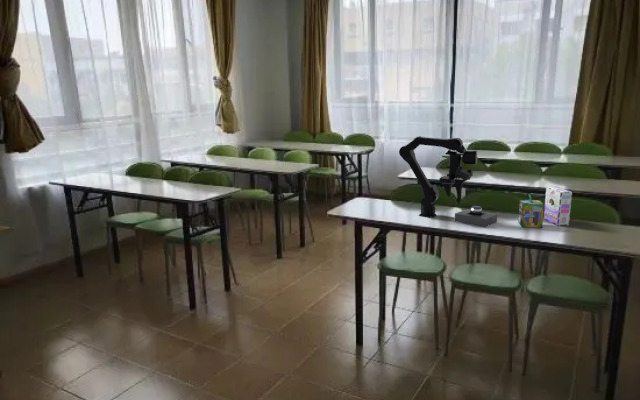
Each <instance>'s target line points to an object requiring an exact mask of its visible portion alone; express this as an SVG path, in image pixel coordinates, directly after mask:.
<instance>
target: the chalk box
mask: <svg viewBox="0 0 640 400" xmlns="http://www.w3.org/2000/svg"><path fill="white" fill-rule="evenodd" d="M528 198H529V199H520V200H519V205H518V208H519V209H518V219H517V220H518V222H517V223H518V224H519V226H520V227H521V228H524V229H525V228H526V229H527V228H529V229H530V228H535V229H539V228H540V229H542V228H543V222H544V208H545V203H543V202H542V201H540V200H537V199H536V200H534V199H533V198H532V196H531V194H530V193H528Z"/></svg>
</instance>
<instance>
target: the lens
mask: <svg viewBox="0 0 640 400" xmlns="http://www.w3.org/2000/svg"><path fill="white" fill-rule="evenodd" d="M469 210H470V215H474V216H481V215H482V212H483V208H482V206H479V205H472V206H471V207H470V209H469Z"/></svg>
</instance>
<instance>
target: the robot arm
mask: <svg viewBox="0 0 640 400" xmlns="http://www.w3.org/2000/svg"><path fill="white" fill-rule="evenodd" d="M463 143H464V142H463V140H462V138H460V137H449V138H437V137H426V136H420V135H419V136H416V137H414V139H413V140H411V141H410V142H409V143H408V144H406V145H403V146H401V147H400V148H399V150H398V154H399V156H400V157H401V158H402V159H403V161H404V162H406V163H407V164H408V166H409V167H410V169H411V171H412V173H413V174H414V176H415V178H416V179H417V181H418V183H419V184H420V186H421V189H422V193H423V196H424V197H423V198H422V199H421V200H420V201H419V202H420V213H419V214H418V216H420V217H425V218H432V217H436V216H437V214H436V204H435V202H436V201H437V200H438V199H439V196H440V193H439V192H440V190H439V189H438V187H437V185H436V184H431V183H430V181H429V179H428V178H427V176H426V174H425V173H424V170H423V169H422V167H421V165H420V164H419V162H418V160H417V158H416V154H415V150H416V149H417V148H418V147H419V146H420V145H421V146H431V147H440V148H444V149H446V150H447V152H445V153H444V154H445V155H448V157H449V158H448V159H449V160H448V165H447V166H446V167H447V169H448V173H446V175H444V176H443V175H442V176H440V178H439V183H440V184H441V186H442V187H443V190H444V192H445V193H446V196H447V197H451V192H452V187H453V186H454V185H455V190H456V194H460V193H461V191H462V187H463V185H464V183H465V182H467V181H470V180H471V179H472V177H473V175H474V173H473V169H471V168H468V169H466V170H465V169H464V166H463V165H462V163H463V164H464V165H472V166H477V165H478V160H479V159H478V157H479V156H478V151H477V150H467V149H466V147H465V146H464V144H463Z"/></svg>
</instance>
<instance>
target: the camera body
mask: <svg viewBox="0 0 640 400" xmlns="http://www.w3.org/2000/svg"><path fill="white" fill-rule="evenodd" d="M497 221H498V214H497V213H492V212H486V211H482V215H481V216H474V215H470V209H468V208H466V209H464V210H461V211H458V212H455V213H454V222H456V223H462V224H467V225H471V226H477V227H482V228H487V227H489V226H491V225H494V224H496V223H497Z"/></svg>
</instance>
